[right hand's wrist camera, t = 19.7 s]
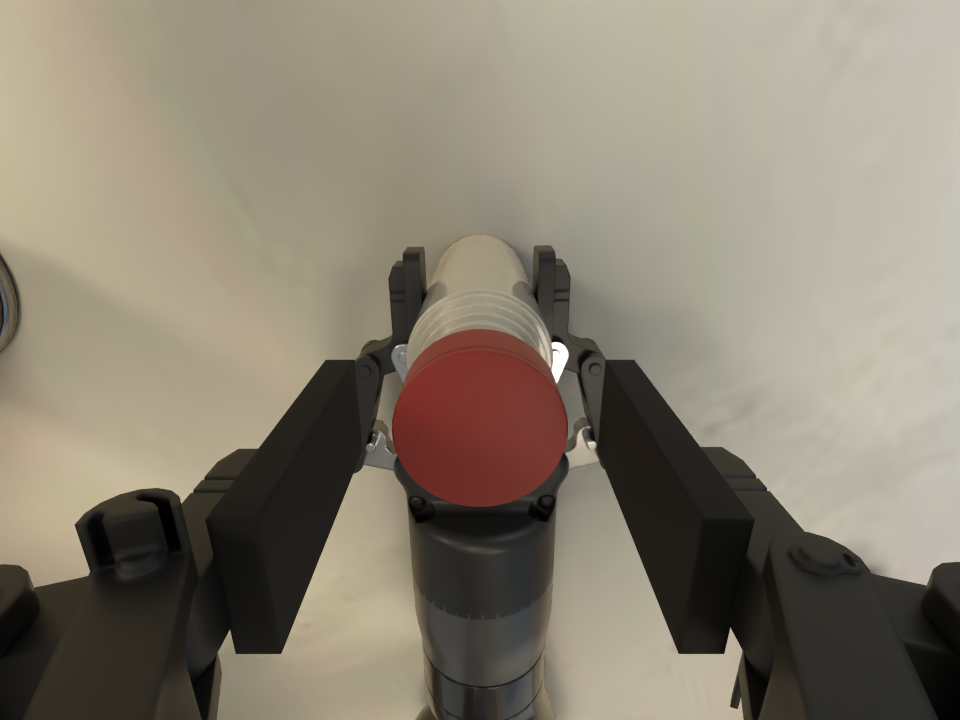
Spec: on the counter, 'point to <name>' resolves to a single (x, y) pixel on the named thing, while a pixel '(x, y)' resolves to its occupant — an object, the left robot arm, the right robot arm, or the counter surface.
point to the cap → (480, 419)
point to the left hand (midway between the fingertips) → (478, 250)
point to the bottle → (479, 297)
